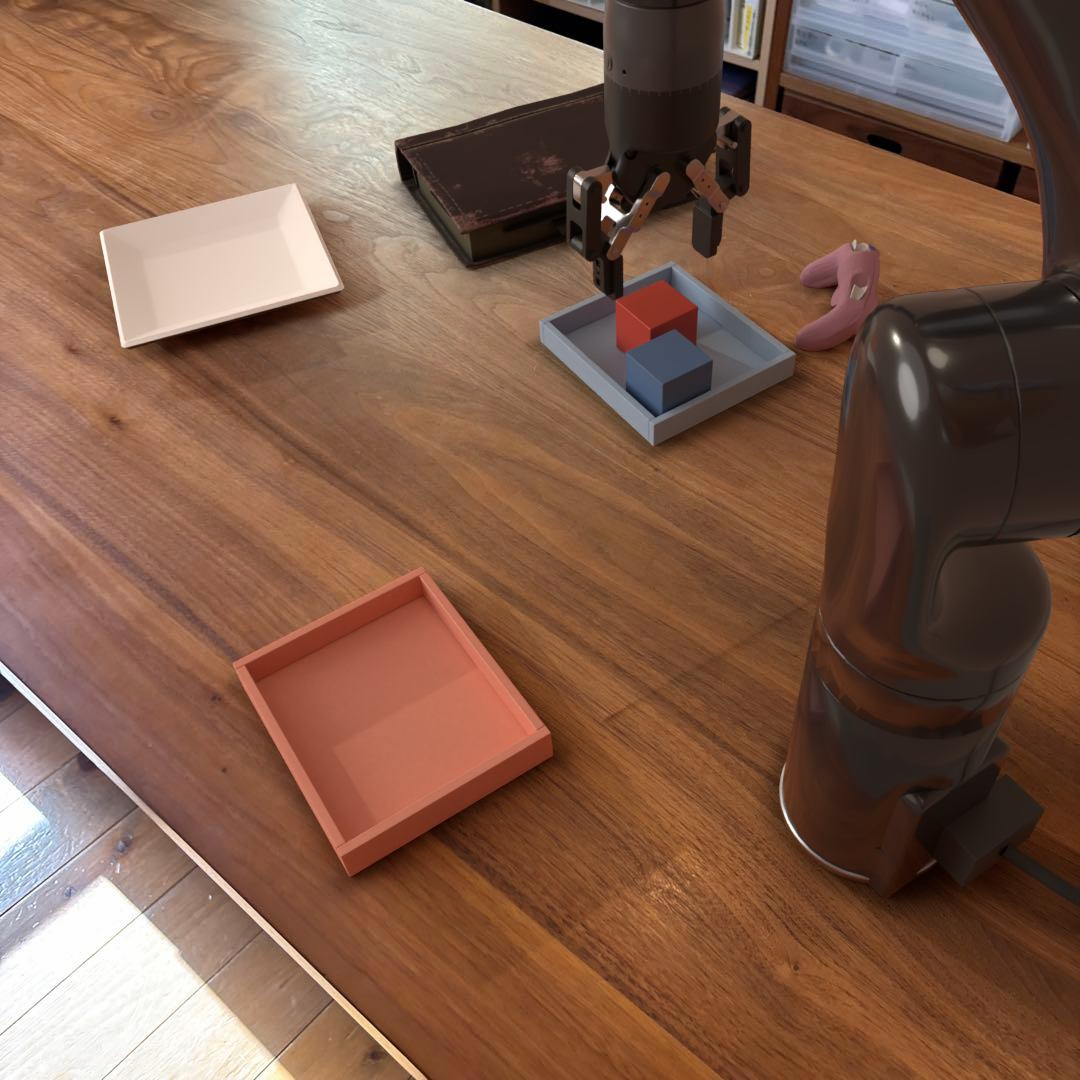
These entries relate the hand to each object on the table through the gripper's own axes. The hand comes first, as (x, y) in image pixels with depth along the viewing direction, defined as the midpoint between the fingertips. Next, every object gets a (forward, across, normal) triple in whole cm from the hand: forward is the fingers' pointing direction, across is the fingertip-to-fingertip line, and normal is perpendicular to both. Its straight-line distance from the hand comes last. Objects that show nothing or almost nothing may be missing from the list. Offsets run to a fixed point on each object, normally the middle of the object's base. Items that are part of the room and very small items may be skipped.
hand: (658, 272), depth 82 cm
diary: (+8, +7, +25) cm, 27 cm away
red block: (+7, 0, 0) cm, 7 cm away
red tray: (+7, -33, -18) cm, 39 cm away
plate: (+8, -24, +32) cm, 41 cm away
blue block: (+7, -3, -6) cm, 10 cm away
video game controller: (+8, +14, -5) cm, 17 cm away
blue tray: (+8, 0, -1) cm, 8 cm away
